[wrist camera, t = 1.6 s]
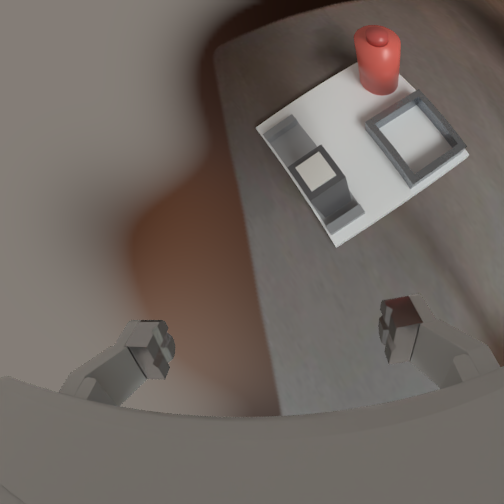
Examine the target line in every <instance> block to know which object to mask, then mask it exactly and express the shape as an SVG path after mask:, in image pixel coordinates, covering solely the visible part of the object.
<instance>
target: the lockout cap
mask: <svg viewBox="0 0 504 504" xmlns="http://www.w3.org/2000/svg"><path fill="white" fill-rule="evenodd" d="M354 42H355V48H356V54H357V61H358V68H359V76H360V82H361V84H362V86H363V87H364V88H365V89H366V90H367V91H368V92H370V93H372V94H375V95H381V96H383V95H389V94H391V93H393V92H394V91H395V90H396V89H397V87H398V80H399V66H400V47H401V42H400V39H399V37H398V36H397V35H396V33H394V32H393V31H392V30H390V29H388V28H386V27H383V26H378V25H368V26H364V27H362V28H360V29H358V30H357V31H356V33H355V35H354Z"/></svg>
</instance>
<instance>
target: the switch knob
mask: <svg viewBox="0 0 504 504" xmlns="http://www.w3.org/2000/svg"><path fill="white" fill-rule="evenodd" d="M287 168H288V170H289V171H290V172H291V174H292V175H293V177H294V178H295V180H296V181H297V183H298V184H299V185H300V187H301V188H302V190H303V191H304V193H305V194H306V196H307V197H308V199H309V200H310V202H311V203H312V204H313V205H314V206H315V207H316V208H317V209H318V210H319V211H320V212H321V213H322V215H323V216H324V217H325V218H326V217H327V216H329V215H330V214H332V213H333V212H335V211H336V210H338V209H339V208H341V207H342V206H344V205H345V204H347V203H348V202H350V201H351V196H350V192H349V188H348V184H347V180H346V177H345V175H344V174H343V173H342V171H341V170H340V168H339V167H338V166H337V164H336V163H335V162H334V160H333V159H332V158H331V156H330V155H329V154H328V152H327V151H326V150H325V149H324V147H323V146H322V145H319V146H318V147H316V148H315V149H313V150H312V151H310V152H309V153H307V154H306V155H304V156H303V157H302V158H300V159H299V160H297V161H296V162H294V163H293V164H291V165H290V166H289V167H287Z"/></svg>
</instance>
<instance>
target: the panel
mask: <svg viewBox="0 0 504 504" xmlns="http://www.w3.org/2000/svg"><path fill="white" fill-rule="evenodd" d="M415 91H416V90H415V89H414V88H413V87H412V86H411V85H410V84H409V83H408V82H407V81H406V80H405V79H404V78H403V77H402V76H401V75H400V74H399V80H398V87H397V89H396V90H395V91H394V92H393V93H391V94H389V95H383V96H381V95H375V94H372V93H370V92H368V91H367V90H366V89H365V88H364V87H363V86H362V84H361V82H360V76H359V68H358V62H357V63H355V64H353V65H351V66H350V67H348V68H346V69H345V70H343V71H341V72H339V73H338V74H336V75H334V76H333V77H331V78H329V79H328V80H326V81H325V82H323V83H321V84H320V85H318V86H317V87H315V88H313V89H312V90H310V91H309V92H307V93H306V94H304V95H302V96H301V97H299V98H298V99H296V100H295V101H293V102H292V103H290V104H289V105H287V106H286V107H284V108H283V109H281V110H280V111H279V112H277V113H276V114H274V115H273V116H271V117H270V118H269V119H267V120H266V121H264V122H263V123H261V124H260V125H259V126H257V127H256V129H257V131H258V132H259V133H260V135H261V136H262V137H263V139H264V140H265V142H266V143H267V144H268V146H269V147H270V148H271V150H272V151H273V153H274V154H275V155H276V157H277V158H278V160H279V161H280V163H281V164H282V165H283V167H284V168H285V170H286V171H287V173H288V174H289V175H290V177H291V178H292V180H293V181H294V183H295V184H296V186H297V187H298V189H299V190H300V192H301V193H302V195H303V196H304V198H305V199H306V201H307V202H308V204H309V205H310V207H311V208H312V210H313V211H314V213H315V215H316V216H317V218H318V219H319V221H320V222H321V224H322V225H323V227H324V229H325V230H326V232H327V233H328V235H329V237H330V238H331V240H332V242H333V243H334V245H335V246H336V247H338V246H340V245H341V244H343V243H344V242H346V241H348V240H349V239H351V238H352V237H354V236H355V235H357V234H358V233H360V232H361V231H363V230H364V229H366V228H367V227H369V226H370V225H372V224H373V223H375V222H376V221H378V220H379V219H381V218H382V217H384V216H385V215H387V214H388V213H390V212H391V211H393V210H394V209H396V208H397V207H399V206H400V205H402V204H403V203H404V202H406V201H407V200H409V199H410V198H412V197H413V196H415V195H416V194H417V193H419V192H420V191H422V190H423V189H425V188H426V187H427V186H429V185H430V184H432V183H433V182H434V181H436V180H437V179H439V178H440V177H441V176H443V175H444V174H446V173H447V172H448V171H450V170H451V169H452V168H454V167H455V166H457V165H458V164H459V163H461V162H462V161H463V160H465V159H466V158H467V157H468V156H469V154H468V152H467V151H466V150H465V149H464V151H463V152H462V153H461V154H460V155H458V156H457V157H455V158H454V159H453V160H451V161H450V162H448V163H447V164H446V165H444V166H443V167H441V168H440V169H439V170H437V171H436V172H434V173H433V174H432V175H430V176H429V177H427V178H426V179H424V180H423V181H422V182H420V183H419V184H417V185H416V186H414V187H413V188H412V189H410V188H409V186H408V185H407V183H406V182H405V181H404V179H403V178H402V176H401V175H400V174H399V172H398V171H397V169H396V168H395V167H394V165H393V164H392V163H391V161H390V160H389V159H388V157H387V156H386V155H385V154H384V152H383V151H382V150H381V148H380V147H379V146H378V145H377V143H376V142H375V141H374V140H373V138H372V137H371V136H370V135H369V134H368V132H367V131H366V130H365V122H366V121H368V120H369V119H371V118H372V117H374V116H375V115H377V114H379V113H380V112H382V111H383V110H385V109H387V108H388V107H390V106H391V105H393V104H395V103H396V102H398V101H400V100H401V99H403V98H405V97H406V96H408V95H410V94H411V93H413V92H415ZM379 130H380V131H381V132H382V133H383V134H384V136H385V137H386V138H387V139H388V140H389V142H390V143H391V144H392V145H393V147H394V148H395V149H396V150H397V152H398V153H399V154H400V156H401V157H402V158H403V160H404V161H405V162H406V164H407V165H408V166H409V168H410V169H411V171H412V172H413V173H414V174H416V173H417V172H418V171H420V170H421V169H423V168H424V167H426V166H427V165H429V164H430V163H431V162H433V161H434V160H436V159H437V158H439V157H440V156H441V155H443V154H444V153H446V152H447V151H449V150H450V149H451V148H452V147H451V146H450V144H449V143H448V142H447V141H446V139H445V138H444V137H443V135H442V134H441V133H440V132H439V130H438V129H437V128H436V127H435V126H434V124H433V123H432V122H431V121H430V120H429V118H428V117H427V116H426V115H425V114H424V113H423V111H422V110H421V109H420V108H419V107H418V106H417V105H416V106H414V107H412V108H411V109H409V110H408V111H406V112H404V113H403V114H401V115H400V116H398V117H397V118H395V119H393V120H392V121H390V122H389V123H387V124H386V125H384V126H382V127H381V128H379ZM319 145H322V146H323V147H324V149H325V150H326V151H327V152H328V154H329V155H330V156H331V158H332V159H333V160H334V162H335V163H336V164H337V166H338V167H339V168H340V170H341V171H342V173H343V174H344V175H345V177H346V180H347V184H348V188H349V192H350V196H351V201H350V202H348V203H347V204H345V205H344V206H342V207H341V208H339V209H338V210H336V211H335V212H333V213H332V214H330V215H329V216H327V217H326V218H325V217H324V216H323V215H322V213H321V212H320V211H319V210H318V209H317V208H316V207H315V206H314V205H313V204H312V203H311V202H310V200H309V199H308V197H307V196H306V194H305V193H304V191H303V190H302V188H301V187H300V185H299V184H298V183H297V181H296V180H295V178H294V177H293V175H292V174H291V172H290V171H289V170H288V168H287V167H289V166H290V165H291V164H293V163H294V162H296V161H297V160H299V159H300V158H302V157H303V156H304V155H306V154H307V153H309V152H310V151H312V150H313V149H315V148H316V147H318V146H319Z"/></svg>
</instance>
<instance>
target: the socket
mask: <svg viewBox="0 0 504 504" xmlns="http://www.w3.org/2000/svg"><path fill="white" fill-rule="evenodd" d="M416 105H417V106H418V107H419V108H420V109H421V110H422V111H423V113H424V114H425V115H426V116H427V117H428V118H429V120H430V121H431V122H432V123H433V124H434V126H435V127H436V128H437V129H438V130H439V132H440V133H441V134H442V135H443V137H444V138H445V139H446V141H447V142H448V143H449V144H450V146H451V147H452V148H451V149H450V150H449V151H447V152H446V153H444V154H443V155H441V156H440V157H439V158H437V159H436V160H434V161H433V162H431V163H430V164H429V165H427V166H426V167H424V168H423V169H421V170H420V171H418V172H417V173H416V174H414V173H413V172H412V171H411V169H410V168H409V166H408V165H407V164H406V162H405V161H404V160H403V158H402V157H401V156H400V154H399V153H398V152H397V150H396V149H395V148H394V147H393V145H392V144H391V143H390V142H389V140H388V139H387V138H386V137H385V136H384V134H383V133H382V132H381V131H380V130H379V128H381V127H382V126H384V125H386V124H387V123H389V122H390V121H392V120H393V119H395V118H397V117H398V116H400V115H401V114H403V113H404V112H406V111H408V110H409V109H411V108H412V107H414V106H416ZM365 130H366V131H367V132H368V134H369V135H370V136H371V137H372V138H373V140H374V141H375V142H376V143H377V145H378V146H379V147H380V148H381V150H382V151H383V152H384V154H385V155H386V156H387V157H388V159H389V160H390V161H391V163H392V164H393V165H394V167H395V168H396V169H397V171H398V172H399V174H400V175H401V176H402V178H403V179H404V181H405V182H406V183H407V185H408V186H409V188H410V189H412V188H413V187H414V186H416V185H417V184H419V183H420V182H422V181H423V180H424V179H426V178H427V177H429V176H430V175H432V174H433V173H434V172H436V171H437V170H439V169H440V168H441V167H443V166H444V165H446V164H447V163H448V162H450V161H451V160H453V159H454V158H455V157H457V156H458V155H460V154H461V153H462V152H463V151H464V149H465V148H466V147H467V146H466V145H465V143H464V142H463V141H462V139H461V138H460V137H459V135H458V134H457V133H456V132H455V130H454V129H453V128H452V127H451V125H450V124H449V123H448V122H447V120H446V119H445V118H444V117H443V116H442V114H441V113H440V112H439V111H438V110H437V109H436V108H435V106H434V105H433V104H432V103H431V102H430V101H429V100H428V99H427V98H426V97H425V95H424V94H423V93H422V92H421V91H420V90H419V89H418V90H416V91H415V92H413V93H411V94H410V95H408V96H406V97H405V98H403V99H401V100H400V101H398V102H396V103H395V104H393V105H391V106H390V107H388V108H387V109H385V110H383V111H382V112H380V113H379V114H377V115H375V116H374V117H372V118H371V119H369V120H368V121H366V122H365Z"/></svg>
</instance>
